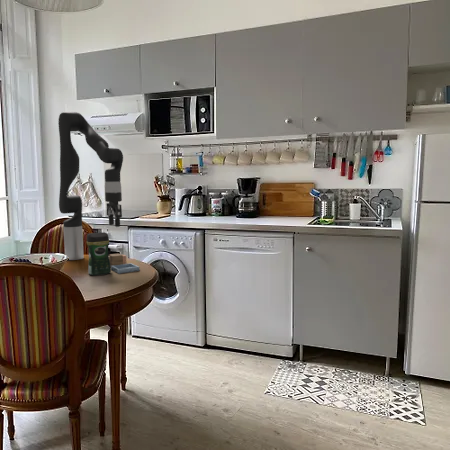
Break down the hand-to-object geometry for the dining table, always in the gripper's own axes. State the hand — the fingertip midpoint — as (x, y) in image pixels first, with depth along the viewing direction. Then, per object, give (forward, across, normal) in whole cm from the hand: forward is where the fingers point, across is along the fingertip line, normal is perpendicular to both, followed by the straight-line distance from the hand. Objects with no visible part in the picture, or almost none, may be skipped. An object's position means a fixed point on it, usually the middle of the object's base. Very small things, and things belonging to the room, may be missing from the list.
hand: (114, 225), depth 203 cm
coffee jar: (+20, +9, -11) cm, 24 cm away
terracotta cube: (+20, -7, +5) cm, 22 cm away
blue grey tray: (+20, +9, +1) cm, 22 cm away
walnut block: (+20, 0, 0) cm, 20 cm away
